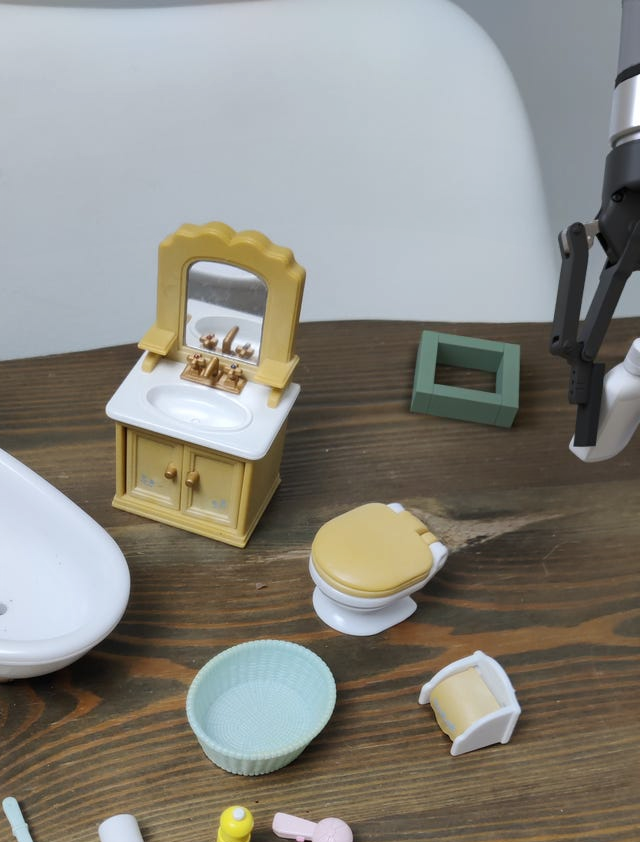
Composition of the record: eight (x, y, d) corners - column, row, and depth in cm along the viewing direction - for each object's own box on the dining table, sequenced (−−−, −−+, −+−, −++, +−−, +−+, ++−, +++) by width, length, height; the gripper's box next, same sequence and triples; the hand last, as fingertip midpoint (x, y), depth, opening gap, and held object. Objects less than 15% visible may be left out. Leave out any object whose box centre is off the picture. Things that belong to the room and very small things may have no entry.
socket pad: (511, 369, 114) (520, 344, 112) (508, 432, 108) (518, 407, 105) (416, 354, 116) (423, 329, 113) (408, 415, 110) (416, 391, 107)
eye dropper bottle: (636, 464, 84) (702, 349, 74) (572, 464, 84) (629, 349, 74) (621, 428, 87) (683, 313, 77) (558, 429, 86) (612, 313, 77)
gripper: (750, 166, 80) (710, 454, 84) (523, 156, 80) (494, 444, 84) (808, 135, 73) (762, 452, 77) (558, 124, 73) (525, 441, 77)
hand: (622, 447), depth 80 cm, fingers closed on eye dropper bottle, 5 cm apart
